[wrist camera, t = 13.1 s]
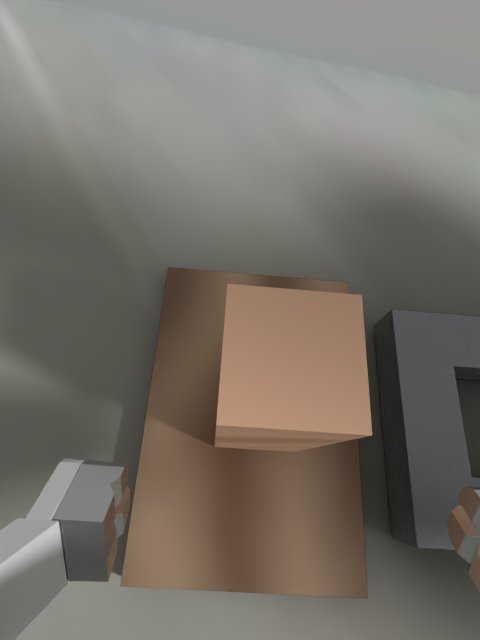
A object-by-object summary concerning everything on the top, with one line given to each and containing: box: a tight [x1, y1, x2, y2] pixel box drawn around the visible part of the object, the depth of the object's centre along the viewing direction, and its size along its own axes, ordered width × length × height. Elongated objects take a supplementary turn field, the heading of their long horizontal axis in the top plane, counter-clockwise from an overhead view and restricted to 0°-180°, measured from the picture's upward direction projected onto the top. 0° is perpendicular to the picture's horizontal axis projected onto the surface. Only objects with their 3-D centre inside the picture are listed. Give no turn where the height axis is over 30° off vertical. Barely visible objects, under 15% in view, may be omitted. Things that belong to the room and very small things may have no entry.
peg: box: [215, 284, 372, 452], centre depth 15 cm, size 4×4×10 cm
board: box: [120, 267, 368, 598], centre depth 20 cm, size 11×16×1 cm
